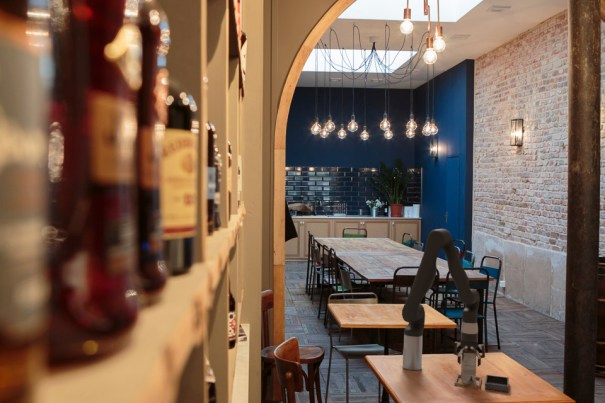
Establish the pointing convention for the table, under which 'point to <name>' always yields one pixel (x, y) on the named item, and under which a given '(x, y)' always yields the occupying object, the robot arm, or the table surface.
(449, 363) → the table surface
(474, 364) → the coffee box
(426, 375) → the table surface
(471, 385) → the tray frame
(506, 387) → the box
